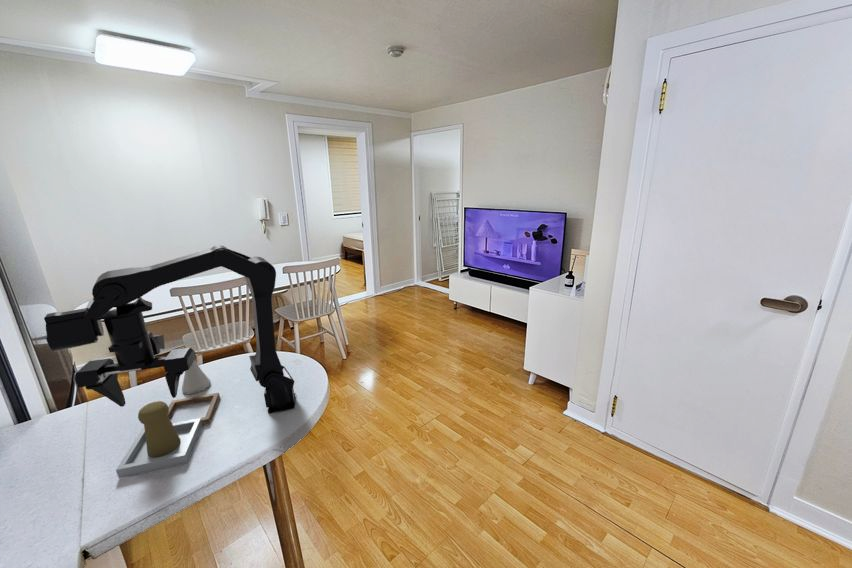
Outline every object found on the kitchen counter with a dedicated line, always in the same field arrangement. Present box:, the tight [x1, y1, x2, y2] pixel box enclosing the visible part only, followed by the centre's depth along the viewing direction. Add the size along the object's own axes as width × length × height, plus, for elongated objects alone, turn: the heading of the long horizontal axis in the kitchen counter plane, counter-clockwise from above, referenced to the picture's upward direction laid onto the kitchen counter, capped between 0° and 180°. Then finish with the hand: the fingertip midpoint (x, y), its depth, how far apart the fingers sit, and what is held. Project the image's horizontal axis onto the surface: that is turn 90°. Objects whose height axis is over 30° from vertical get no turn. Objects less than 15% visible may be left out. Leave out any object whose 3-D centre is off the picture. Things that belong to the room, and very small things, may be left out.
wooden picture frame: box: [168, 392, 221, 426], centre depth 88 cm, size 11×11×2 cm
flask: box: [181, 359, 212, 395], centre depth 97 cm, size 7×7×10 cm
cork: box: [137, 400, 181, 458], centre depth 75 cm, size 6×6×11 cm
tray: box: [115, 417, 204, 479], centre depth 77 cm, size 12×12×2 cm
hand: (149, 400), depth 73 cm, fingers open, 9 cm apart
